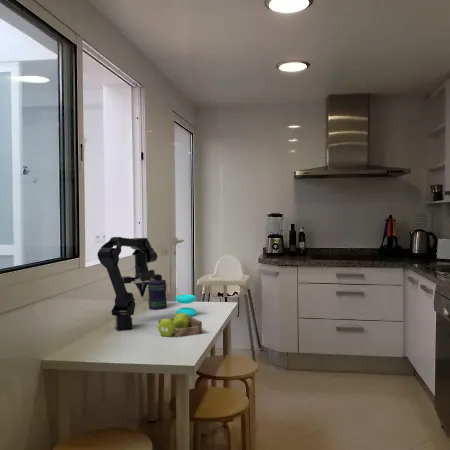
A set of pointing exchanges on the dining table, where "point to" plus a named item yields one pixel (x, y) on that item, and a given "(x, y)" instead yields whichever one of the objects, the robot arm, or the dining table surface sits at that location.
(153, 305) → the storage jar
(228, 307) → the dining table surface
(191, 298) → the donuts
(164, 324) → the dumbbell
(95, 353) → the dining table surface
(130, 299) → the robot arm
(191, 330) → the walnut corral
